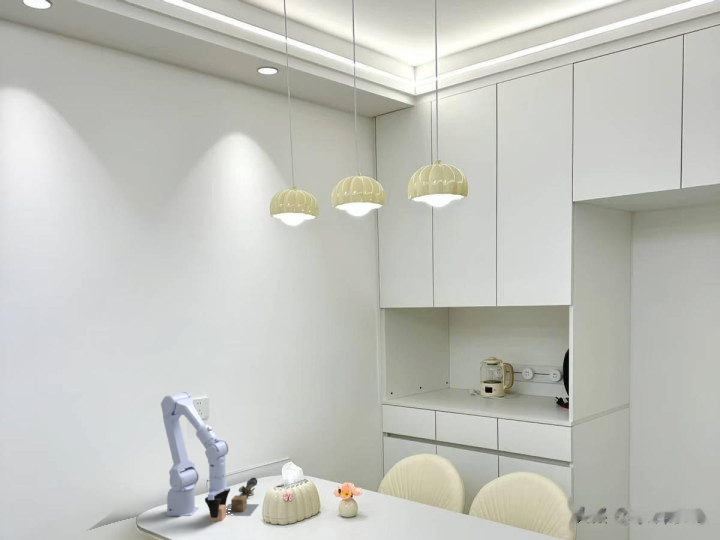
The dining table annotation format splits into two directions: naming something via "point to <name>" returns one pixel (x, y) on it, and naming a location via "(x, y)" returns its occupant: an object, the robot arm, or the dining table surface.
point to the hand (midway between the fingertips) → (218, 513)
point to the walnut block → (238, 503)
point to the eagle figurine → (249, 487)
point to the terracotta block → (220, 513)
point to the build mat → (247, 511)
